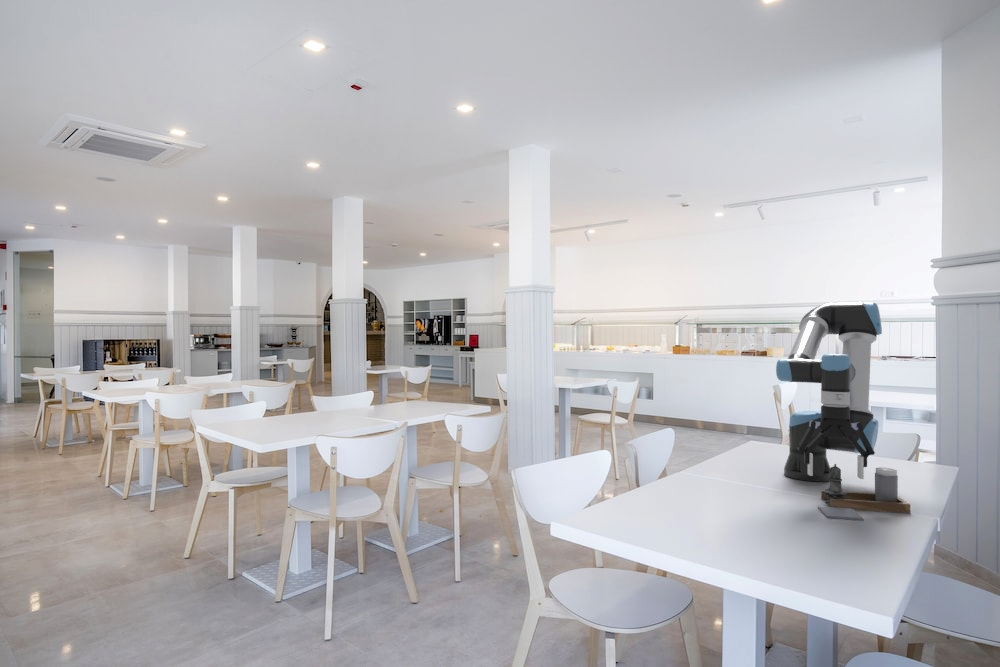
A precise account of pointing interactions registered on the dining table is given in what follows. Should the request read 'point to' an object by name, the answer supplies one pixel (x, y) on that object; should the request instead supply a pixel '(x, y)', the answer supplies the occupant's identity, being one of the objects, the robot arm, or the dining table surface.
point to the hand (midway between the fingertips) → (835, 476)
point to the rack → (867, 503)
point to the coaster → (840, 513)
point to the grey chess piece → (835, 485)
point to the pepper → (886, 485)
